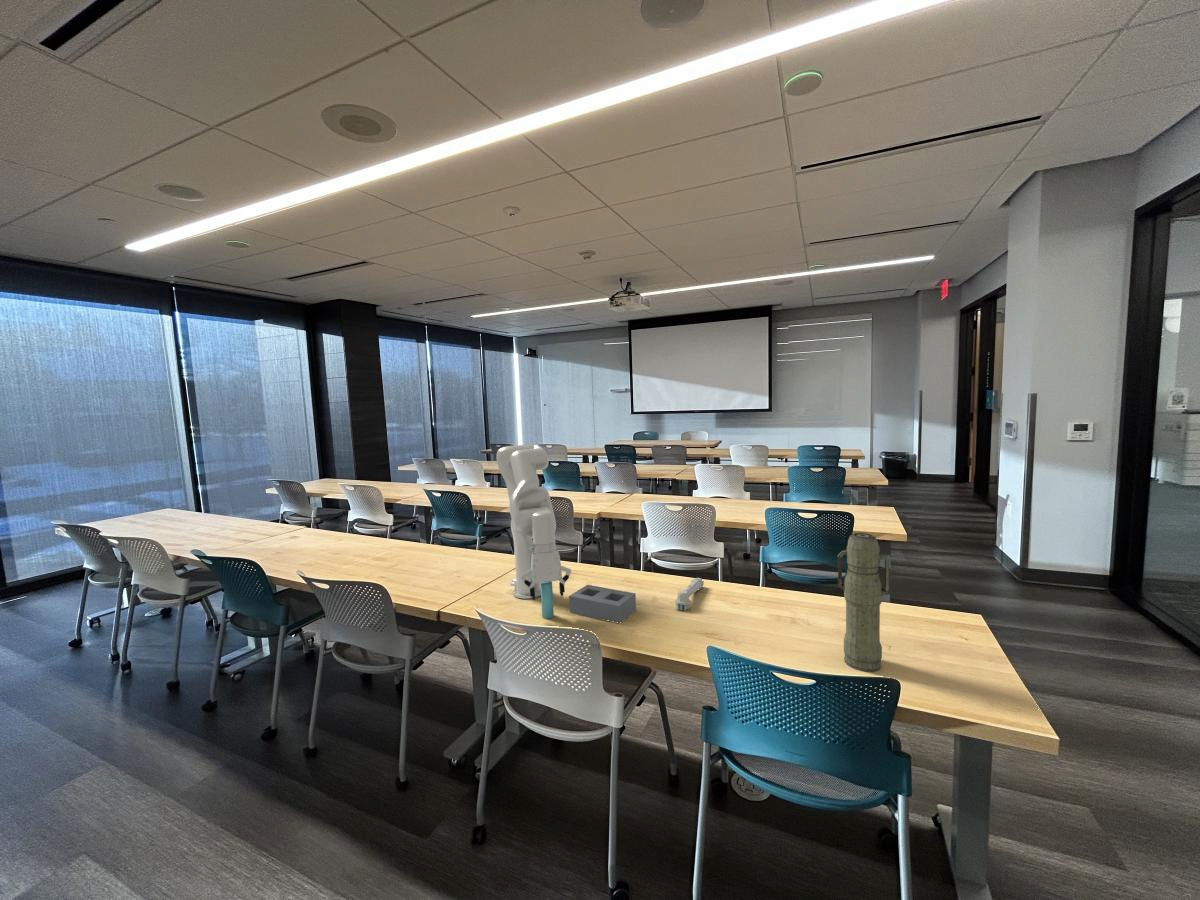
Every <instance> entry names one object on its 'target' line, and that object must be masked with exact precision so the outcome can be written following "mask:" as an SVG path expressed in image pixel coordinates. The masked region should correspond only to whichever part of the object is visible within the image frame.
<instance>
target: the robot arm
mask: <svg viewBox="0 0 1200 900" xmlns="http://www.w3.org/2000/svg"><path fill="white" fill-rule="evenodd" d="M548 456H549V455H548V453H547V452H546V450H545V449H544V447H542V446H540V445H538V444H521V445H520V444H518V445H517V444H516V445H507V446H503V447H501V448H499V449H497V452H496V464H497V467H498V470H499V472H500V474H501V476H502V478H503V480H504V483H505V486H506V489H507V494H508V501H509V513H510V518H511V520H510V529H511V534H512V539H513V547H514V563H515V564H514V565H515V578H513V579H512V580H511V582H510V583H509V584H510V585H509V586H513V587H514V589H513V591H512V595H513V597H515V598H518V599H524V600H525V599H526V600H527V599H532V600H533V601H534V600H536V598H539V597H540V596H541V584H540V583H542V582H550V581H552V582H557V581H559V583H558V585H559V587H558V588H559V594H560V596H561V597H563V596H564V593H565V585H566V582H567V581H568V580H569V579H570V576H571V573H572V569H571V568H569V567H566V566H563V565H562V564H561V556H560V553H559V550H558V549H557V545H556V530H557V522H556V516H555V511H554V508H553V504H552V500H551V497H550V496H551V495H550V493H549V491H548V490H547V488H546V487H544V486H540V479H539V476H538V473H537V471H539V470H540V471H541V470H546V469H547V468H548V467H549V457H548ZM562 572H565V574H564V575H563V574H562Z"/></svg>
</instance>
